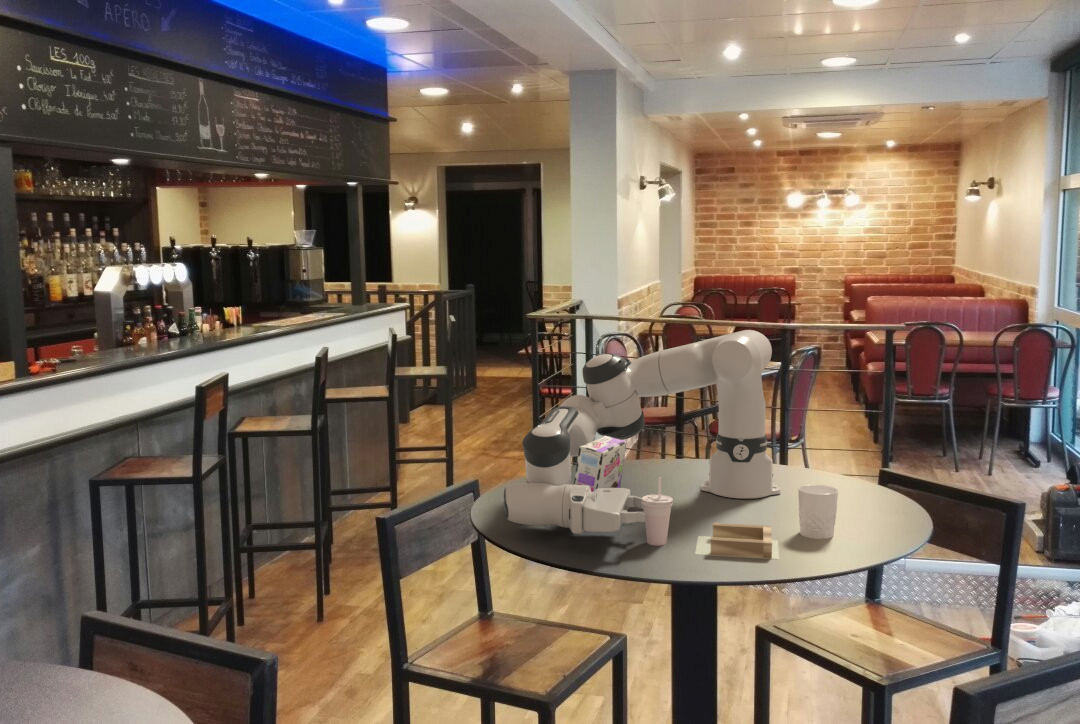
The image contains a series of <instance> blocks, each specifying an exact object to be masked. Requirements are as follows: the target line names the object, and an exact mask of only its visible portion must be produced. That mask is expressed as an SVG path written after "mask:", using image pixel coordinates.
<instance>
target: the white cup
mask: <svg viewBox="0 0 1080 724" xmlns="http://www.w3.org/2000/svg"><path fill="white" fill-rule="evenodd" d="M838 494H839V490H838V489H837V488H835V487H833V486H829V485H824V484H823V485H822V484H805V485H801V486H799V487H798V520H799V521H798V522H799V533H800V535H801V536H803V537H805V538H808V539H815V540H826V539H831V538H833V537H834V534H835V526H836V519H837V510H838V509H837V508H838Z"/></svg>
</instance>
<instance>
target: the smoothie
mask: <svg viewBox="0 0 1080 724" xmlns="http://www.w3.org/2000/svg"><path fill="white" fill-rule="evenodd" d="M657 483H658V487H657V489H658V491H657V492H658V494H647V495H644V496H642V497H641V498H642V501H641V503H642V504H643V509H642V510H643V511H644V512H646V520H645V521H644V524H645V534H646V541H647V544H648V545H651V546H657V547H659V546H664V545H667V540H668V533H669V525H670V519H671V518H670V516H671V510H672V506H673V505H674V499H673V498H672V497H671V496H669V495H665V494H662V477H658V481H657Z"/></svg>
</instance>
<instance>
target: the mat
mask: <svg viewBox="0 0 1080 724" xmlns="http://www.w3.org/2000/svg"><path fill="white" fill-rule="evenodd" d="M711 537H712V536H706V535H698V536H697V541H696V546H695V551H694V555H695V556H696V555H697V556H698V555H699V556H714V557H723V556H722V555H711ZM729 557H734V558H740V557H739V556H728V558H729ZM745 558H749V559H756V558H755V557H745ZM761 559H762V560H763V559H766V560H780V552H779V541H778V539H776V540H775V539H772V558H761Z"/></svg>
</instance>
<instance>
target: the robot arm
mask: <svg viewBox="0 0 1080 724" xmlns="http://www.w3.org/2000/svg"><path fill="white" fill-rule="evenodd" d="M772 353H773V349H772V343H771V342H770V340H769V338H767V337H766V336H765V335H764V334H763V333H761V332H759V331H757V330H753V329H744V330H740V331H736V332H733V333H732V332H731V333H727V334H724V335H720V336H716V337H712V338H708V339H704V340H700V341H697V342H692V343H687V344H685V345H680V346H676V347H672V348H667V349H663V350H659V351H654V352H651V353H648V354H645V355H643V356H641V357H638V358H636V359H634V360H630V359H629V358H626V357H622V356H620V355H618V354H615V353H610V352H609V353H608V352H607V353H603V354H598V355H596V356H594V357H592V358H591V359H589V360H587V361H586V362H585V364H584V365H583V367H582V372H581V373H582V379H583V382H584V384H586V389H587V393H588V396H587V395H583V394H574V395H572V396H568V398H566V400H563V402H562V403H561V404H560V405H559V406H556V407H554V408H553V409H552V410H550V411H548V412H549V413H547V415H546V416H545V418H543V420H541V422H540V423H539V424H538V425H537V426H535V427H534V428H532V429H531V430H529V431H528V432H527V433H526V434H525V436H524V437H523V439H522V450H523V454H524V461H525V462H524V463H525V465H524V466H525V474H526V475H525V477H526V478H525V479H524V480H523V481H522V482H519V483H518V482H516V483H510V484H506V485H505V487H504V491H503V507H504V509H503V510H504V516H505V517H506V519H507V520H508V521H510V522H513V523H515V524H519V525H527V526H533V527H534V526H535V527H547V526H557V527H562V528H567V529H568V528H569V530H570V532H571V533H572V534H578V535H580V534H582V533H583V534H584V532H588V533H613V532H617V531H619V530H620V528H621V526H622V524H631V523H645V520H646V512H644V509H643V504H642V503H641V501H642V497H640V496H636V495H631V489H629V488H626V487H625V488H624V487H620V488H598V489H596V490H595V491H594V492H591V488H590V486H589V485H574V483H573V481H572V479H573V478H572V464H571V457H572V458H573V457H578V454H579V447H580V446H583V445H585V444H588V443H590V442H592V441H595V437H596V434H597V435H599V436H602V437H604V436H608V437H612V438H616V439H620V440H624V441H625V440H627V439H630V438H633V437H635V436H637V435H638V434H640V432H641V431H642V430H643V429H644V427H645V423H646V422H645V415H644V411H643V410H642V408H641V407H642V406H641V404H640V400H639V397H640V398H641V397H643V398H644V397H646V398H648V397H650V398H651V397H660V396H661V397H662V396H667V395H672V394H677V393H684V392H688V391H692V390H695V389H696V390H697V389H701V388H706V387H708V386H712V385H716V391H717V398H718V433H716V438H715V442H716V443H715V445H716V446H715V447H716V451H715V453H713V454H712V455H711V456H710V458H709V463H708V464H709V472H708V479H707V480H706V481H705V482H704V483H702V485H701V487H700V490H701V491H704V492H708V493H712V494H714V495H716V496H717V495H718V496H721V497H723V498H724V497H725V498H731V499H759V498H766V497H768V496H772V495H773V496H775V495H779V494H781V489H780V487H779V486H778V485H777V484H776V483H775V482H774V480H773V476H774V473H773V459H772V458H771V457H770V456H769V454H767V449H768V447H767V446H768V439H767V438H768V436H767V435H766V410H767V409H766V408H767V407H766V404H767V403H766V400H765V397H764V389H763V377H762V371H764V370H765V369H767V367H768V365H769V364H770V363H771V358H772ZM634 507H635V508H640V509H642V511H641V510H637V511H628V509H630V508H634Z"/></svg>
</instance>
